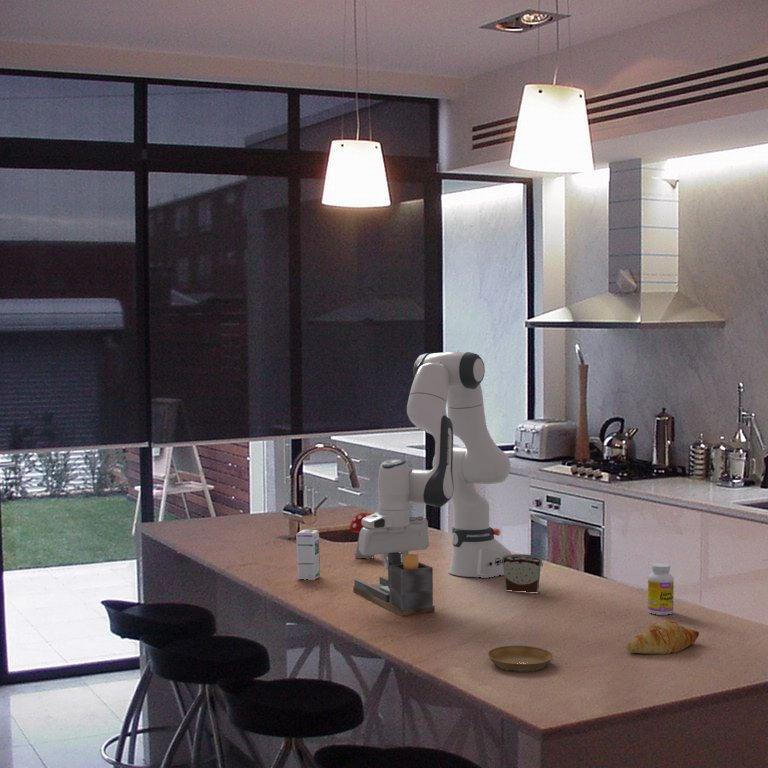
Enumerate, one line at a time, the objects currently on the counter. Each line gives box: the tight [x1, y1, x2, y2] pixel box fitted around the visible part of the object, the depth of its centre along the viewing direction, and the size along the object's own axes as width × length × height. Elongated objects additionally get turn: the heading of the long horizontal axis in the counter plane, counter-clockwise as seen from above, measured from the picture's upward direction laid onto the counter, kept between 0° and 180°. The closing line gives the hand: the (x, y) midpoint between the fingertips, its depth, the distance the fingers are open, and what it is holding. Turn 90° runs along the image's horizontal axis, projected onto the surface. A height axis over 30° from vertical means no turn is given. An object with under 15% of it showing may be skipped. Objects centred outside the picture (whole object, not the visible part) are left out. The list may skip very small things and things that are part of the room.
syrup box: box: [295, 529, 321, 581], centre depth 356 cm, size 6×6×14 cm
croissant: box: [625, 619, 700, 655], centre depth 275 cm, size 21×10×8 cm, turn 118°
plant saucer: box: [487, 644, 554, 672], centre depth 263 cm, size 15×15×3 cm
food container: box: [501, 553, 544, 593], centre depth 337 cm, size 12×6×10 cm, turn 65°
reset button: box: [403, 553, 419, 570], centre depth 313 cm, size 4×4×6 cm
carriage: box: [380, 552, 402, 594], centre depth 323 cm, size 6×8×12 cm
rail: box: [352, 561, 435, 617], centre depth 325 cm, size 10×32×12 cm, turn 25°
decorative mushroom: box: [349, 512, 375, 559], centre depth 387 cm, size 10×9×15 cm
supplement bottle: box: [647, 562, 675, 616], centre depth 309 cm, size 7×7×13 cm
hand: (394, 568), depth 323 cm, fingers closed on carriage, 2 cm apart
